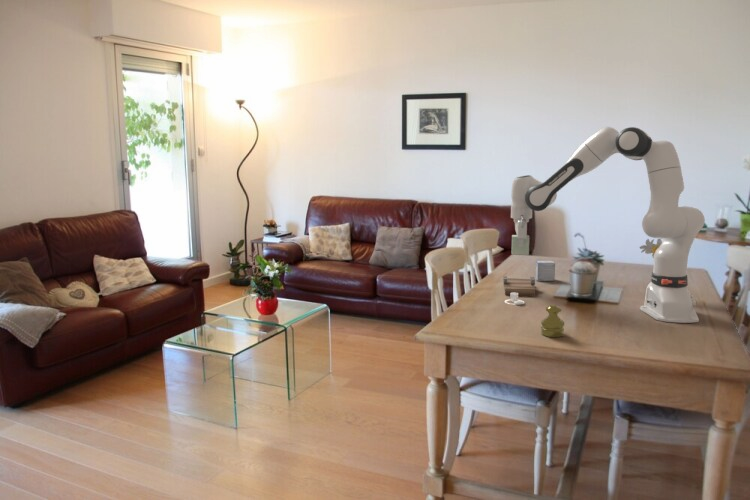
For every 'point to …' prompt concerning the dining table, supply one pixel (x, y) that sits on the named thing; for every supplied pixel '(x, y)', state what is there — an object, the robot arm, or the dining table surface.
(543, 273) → the medicine box
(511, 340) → the dining table surface
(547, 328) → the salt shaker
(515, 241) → the green block
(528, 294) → the stand
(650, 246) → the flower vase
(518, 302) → the teacup and saucer
